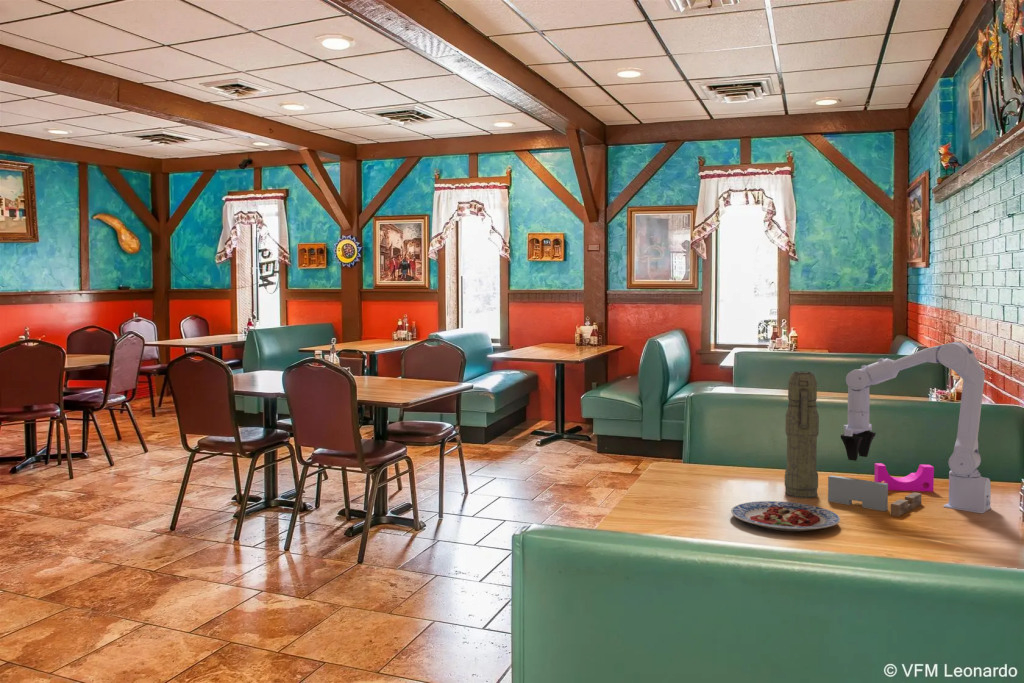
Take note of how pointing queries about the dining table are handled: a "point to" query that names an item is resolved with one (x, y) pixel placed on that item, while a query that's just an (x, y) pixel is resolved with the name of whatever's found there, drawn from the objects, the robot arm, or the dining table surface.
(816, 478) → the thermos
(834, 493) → the slate plate
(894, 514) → the walnut rail
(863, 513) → the dining table surface
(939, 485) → the dining table surface
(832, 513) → the ceramic plate
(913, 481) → the toy block
